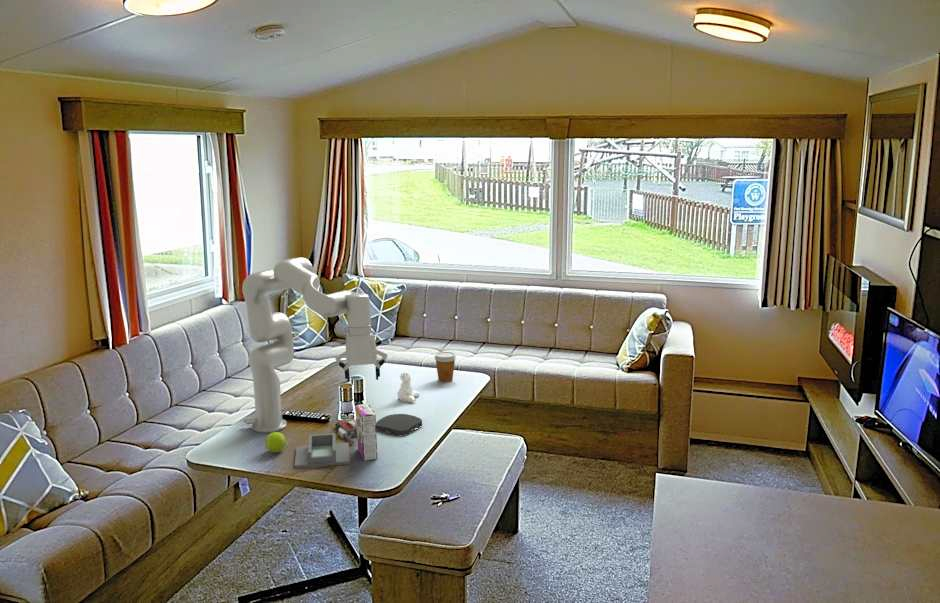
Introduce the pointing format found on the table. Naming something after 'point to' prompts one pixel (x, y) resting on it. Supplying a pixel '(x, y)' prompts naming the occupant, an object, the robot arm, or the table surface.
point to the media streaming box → (398, 424)
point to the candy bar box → (366, 432)
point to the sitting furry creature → (407, 389)
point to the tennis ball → (275, 442)
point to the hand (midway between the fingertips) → (362, 379)
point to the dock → (322, 452)
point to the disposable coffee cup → (445, 366)
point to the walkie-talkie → (347, 428)
